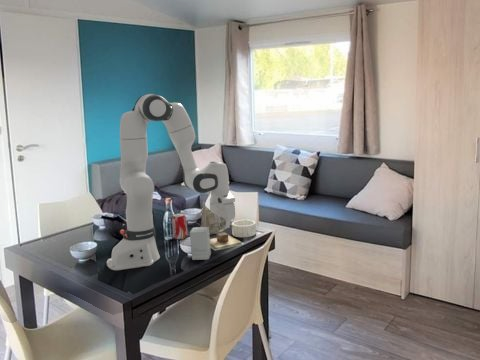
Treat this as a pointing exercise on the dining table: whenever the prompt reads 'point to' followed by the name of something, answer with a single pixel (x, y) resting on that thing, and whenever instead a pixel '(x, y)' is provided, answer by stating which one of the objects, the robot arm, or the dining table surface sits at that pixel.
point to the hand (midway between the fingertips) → (223, 225)
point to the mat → (225, 247)
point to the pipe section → (243, 228)
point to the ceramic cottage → (211, 221)
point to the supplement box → (200, 243)
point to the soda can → (179, 226)
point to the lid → (223, 241)
